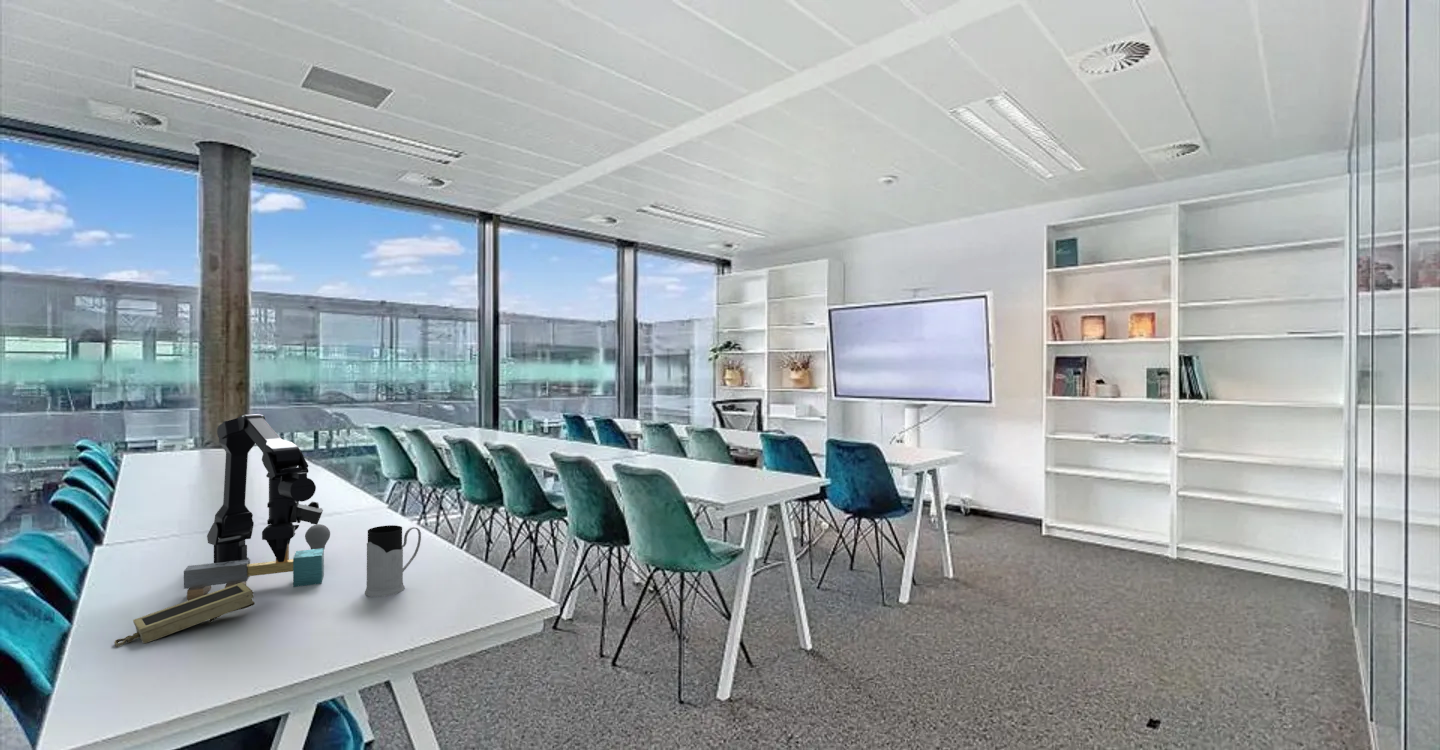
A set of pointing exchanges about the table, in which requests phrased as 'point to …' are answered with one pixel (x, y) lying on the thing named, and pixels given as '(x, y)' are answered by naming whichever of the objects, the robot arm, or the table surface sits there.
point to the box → (190, 613)
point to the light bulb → (317, 536)
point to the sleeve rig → (233, 572)
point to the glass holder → (386, 560)
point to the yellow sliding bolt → (271, 566)
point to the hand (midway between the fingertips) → (282, 559)
